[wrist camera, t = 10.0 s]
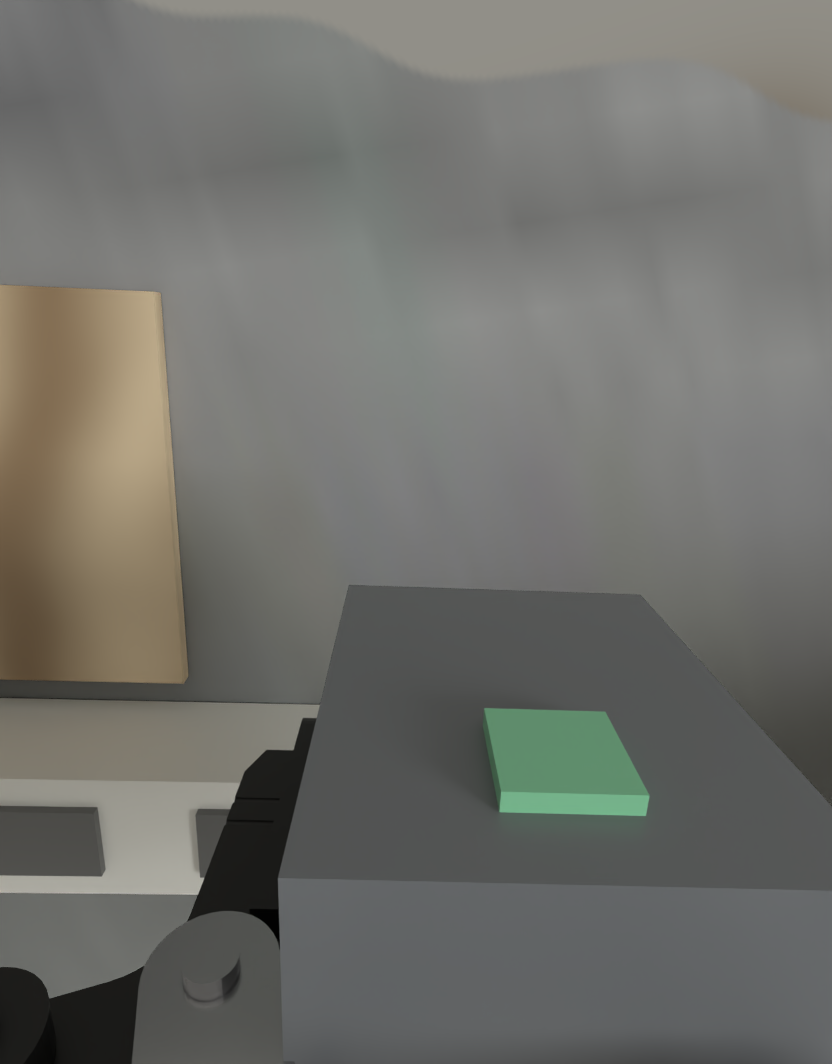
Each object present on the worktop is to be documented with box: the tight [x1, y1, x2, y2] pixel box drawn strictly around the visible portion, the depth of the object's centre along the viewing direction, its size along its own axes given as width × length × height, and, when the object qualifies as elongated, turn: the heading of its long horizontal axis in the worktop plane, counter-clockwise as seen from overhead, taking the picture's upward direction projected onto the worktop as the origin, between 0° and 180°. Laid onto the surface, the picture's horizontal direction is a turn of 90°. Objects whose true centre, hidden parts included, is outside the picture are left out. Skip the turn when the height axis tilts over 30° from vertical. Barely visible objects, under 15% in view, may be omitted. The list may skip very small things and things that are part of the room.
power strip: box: [0, 698, 320, 895], centre depth 20 cm, size 28×4×5 cm, turn 88°
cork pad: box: [0, 285, 189, 684], centre depth 19 cm, size 8×12×1 cm, turn 178°
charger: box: [278, 585, 832, 1064], centre depth 8 cm, size 4×8×6 cm, turn 178°
